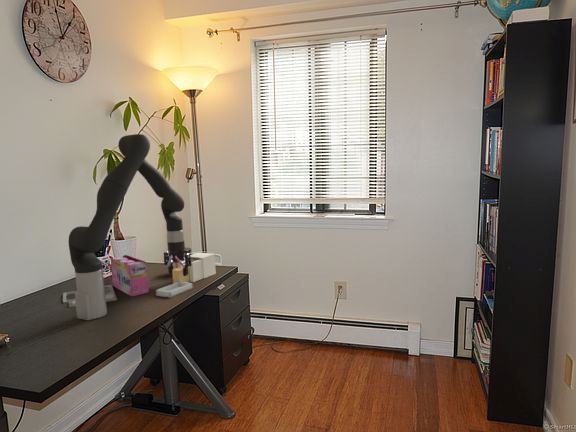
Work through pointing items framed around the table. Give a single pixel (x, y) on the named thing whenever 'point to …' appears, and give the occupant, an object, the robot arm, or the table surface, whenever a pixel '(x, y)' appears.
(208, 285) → the table surface
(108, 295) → the office telephone
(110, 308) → the table surface
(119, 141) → the robot arm
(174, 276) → the yellow rectangular block
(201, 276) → the dispenser
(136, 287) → the gum box
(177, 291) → the dish
